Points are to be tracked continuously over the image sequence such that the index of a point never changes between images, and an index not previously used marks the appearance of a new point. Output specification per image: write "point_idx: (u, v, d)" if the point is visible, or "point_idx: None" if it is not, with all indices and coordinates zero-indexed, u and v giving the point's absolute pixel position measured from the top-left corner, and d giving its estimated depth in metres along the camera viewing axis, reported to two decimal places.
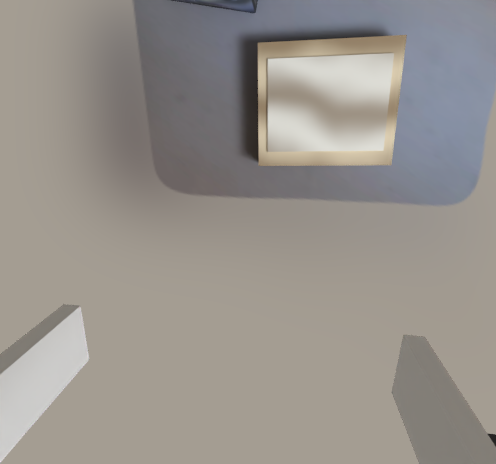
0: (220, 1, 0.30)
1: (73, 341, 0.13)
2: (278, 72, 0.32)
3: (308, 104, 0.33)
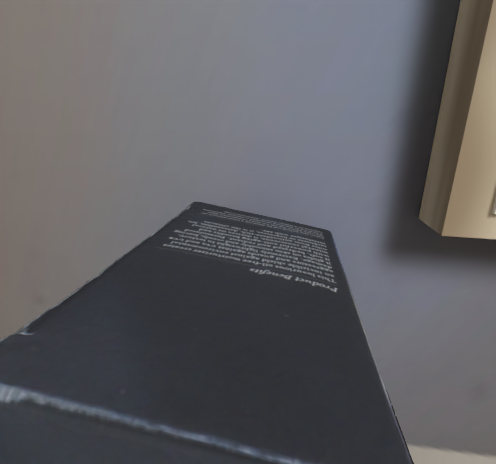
0: None
1: None
2: None
3: None
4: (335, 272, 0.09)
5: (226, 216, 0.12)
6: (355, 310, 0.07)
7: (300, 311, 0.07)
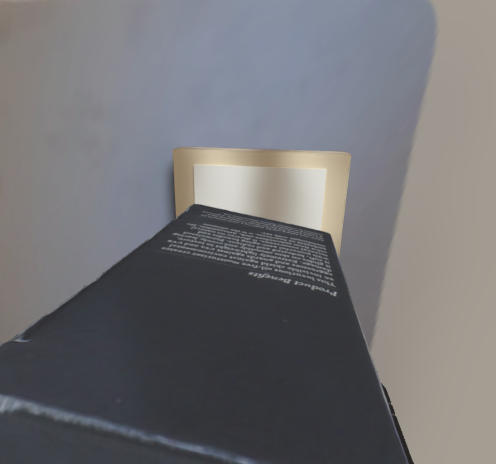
0: None
1: None
2: None
3: None
4: (335, 275, 0.09)
5: (226, 219, 0.12)
6: (355, 314, 0.07)
7: (299, 315, 0.07)
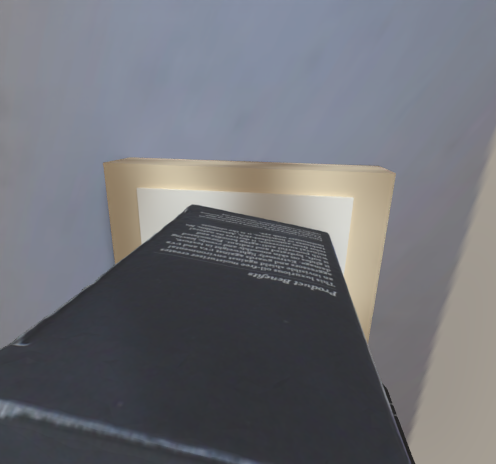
0: None
1: None
2: None
3: None
4: (334, 275, 0.09)
5: (224, 219, 0.12)
6: (354, 314, 0.07)
7: (300, 316, 0.07)
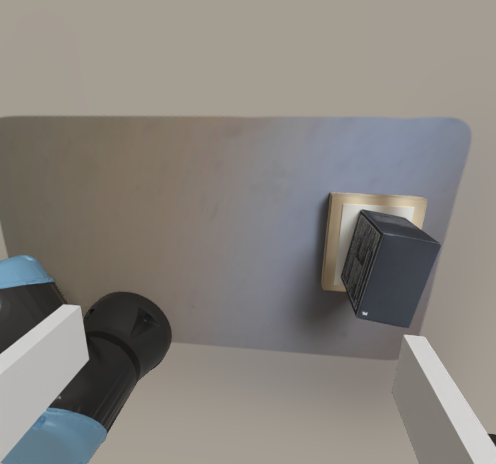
0: None
1: (73, 341, 0.13)
2: None
3: None
4: (415, 226, 0.38)
5: (376, 214, 0.41)
6: (424, 232, 0.36)
7: (415, 231, 0.36)
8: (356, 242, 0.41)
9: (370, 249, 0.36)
